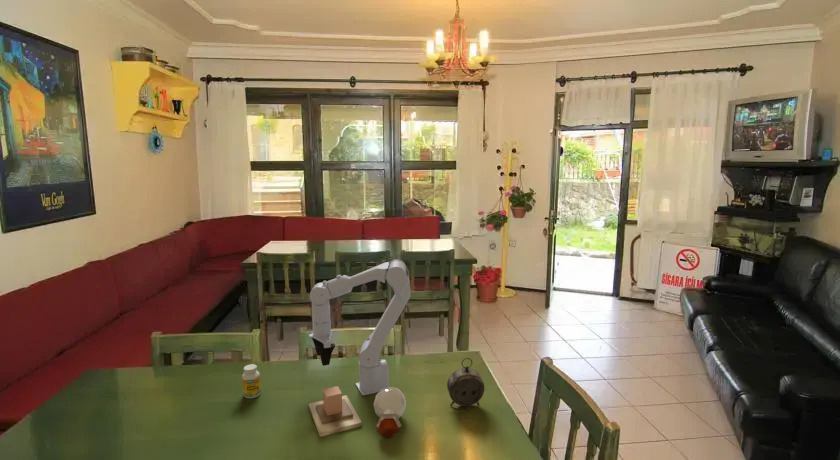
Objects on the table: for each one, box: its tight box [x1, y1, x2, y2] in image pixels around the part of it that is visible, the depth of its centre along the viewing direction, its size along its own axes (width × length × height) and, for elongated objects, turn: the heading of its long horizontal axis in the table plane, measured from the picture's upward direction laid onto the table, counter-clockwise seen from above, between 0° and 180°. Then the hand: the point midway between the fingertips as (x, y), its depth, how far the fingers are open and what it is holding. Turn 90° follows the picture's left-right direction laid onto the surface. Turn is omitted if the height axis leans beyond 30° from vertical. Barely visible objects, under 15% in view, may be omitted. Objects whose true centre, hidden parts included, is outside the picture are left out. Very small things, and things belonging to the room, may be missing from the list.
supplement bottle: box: [241, 363, 262, 399], centre depth 149 cm, size 5×5×10 cm
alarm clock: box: [446, 357, 485, 412], centre depth 141 cm, size 11×5×16 cm, turn 96°
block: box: [322, 385, 343, 416], centre depth 137 cm, size 4×4×6 cm
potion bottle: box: [373, 386, 407, 439], centre depth 134 cm, size 9×10×15 cm
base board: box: [308, 394, 363, 438], centre depth 138 cm, size 12×16×2 cm
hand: (323, 359), depth 152 cm, fingers open, 7 cm apart
